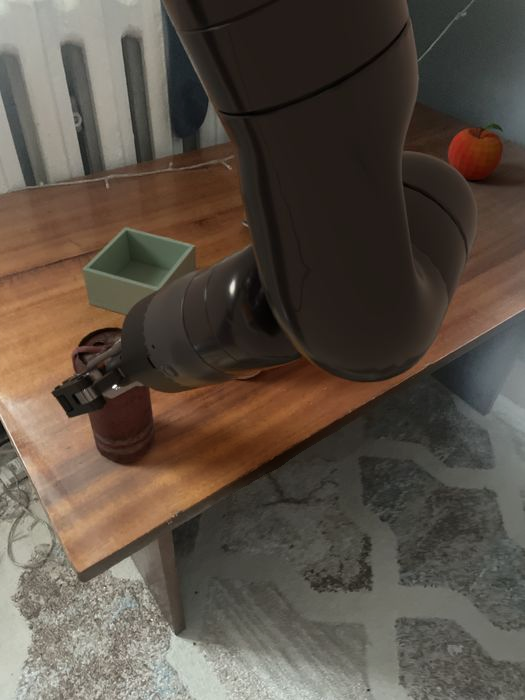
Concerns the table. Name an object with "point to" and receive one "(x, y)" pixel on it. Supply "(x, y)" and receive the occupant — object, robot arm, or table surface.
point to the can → (117, 406)
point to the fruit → (476, 152)
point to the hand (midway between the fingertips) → (110, 365)
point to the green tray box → (135, 268)
